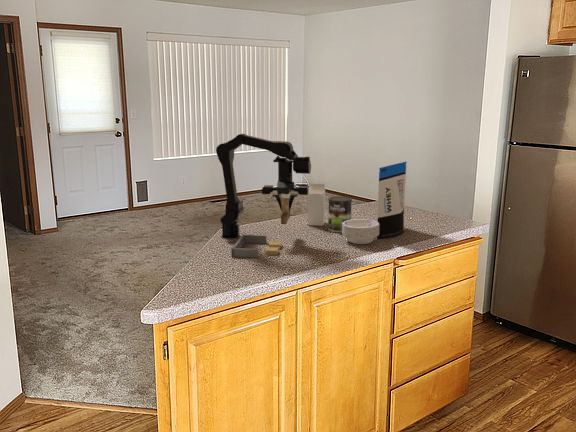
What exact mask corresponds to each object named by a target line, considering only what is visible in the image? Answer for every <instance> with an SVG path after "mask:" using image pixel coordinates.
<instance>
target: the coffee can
mask: <svg viewBox="0 0 576 432" xmlns="http://www.w3.org/2000/svg"><path fill="white" fill-rule="evenodd" d="M352 200H353V199H352V197H349V196H348V197H347V196H340V195H339V196H330V197H329V198H328V218H327V219H328V220H327V221H328V222H327V223H328V224H327V227H328V228H327V229H328V231H330V232H331V233H332V232H334V233H342V223H343V222H344V221H347V220H352Z"/></svg>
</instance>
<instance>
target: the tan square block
mask: <svg viewBox="0 0 576 432" xmlns="http://www.w3.org/2000/svg"><path fill="white" fill-rule="evenodd" d="M282 246H283V244H282V241H272V240H271V241H270V242H269V244H268V247H279V250H280V249H281V248H282Z"/></svg>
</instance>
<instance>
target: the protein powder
mask: <svg viewBox="0 0 576 432" xmlns="http://www.w3.org/2000/svg"><path fill="white" fill-rule="evenodd" d="M378 169H379V170H378V171H379V172H378V192H377V194H378V198H377V199H378V200H377V201H378V202H377V222H378V223H379V235H378V236H377V237H376V240H382V239H383V240H384V239H385V240H386V239H392V238H397V237H399V236H402V235H403V234H404V232H405V219H404V217H405V216H404V215H405V212H404V211H405V195H406V177H407V176H406V175H407V174H406V173H407V161H403V162H399V163H395V164H390V165H386V166H383V167H379V168H378Z"/></svg>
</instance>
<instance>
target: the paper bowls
mask: <svg viewBox="0 0 576 432" xmlns="http://www.w3.org/2000/svg"><path fill="white" fill-rule="evenodd" d="M341 235H342V236H344V237H345V238H346V239H347V241H348V242H349V243H352V244H355V245H367V244H371V243H372V242H373V241H374V240H375V238H377V236H378V235H379V223H378V220H373V219H367V218H366V219H365V218H356V219H354V218H353V219H352V218H351V220H347V221H344V222H343V223H342V232H341Z"/></svg>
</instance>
